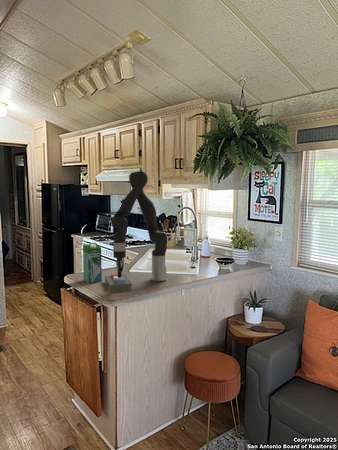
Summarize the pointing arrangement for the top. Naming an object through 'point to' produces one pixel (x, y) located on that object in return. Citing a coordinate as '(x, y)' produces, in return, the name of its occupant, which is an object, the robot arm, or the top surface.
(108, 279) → the key panel
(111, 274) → the red key
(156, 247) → the robot arm
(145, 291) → the top surface
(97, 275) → the milk carton
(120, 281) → the blue key
